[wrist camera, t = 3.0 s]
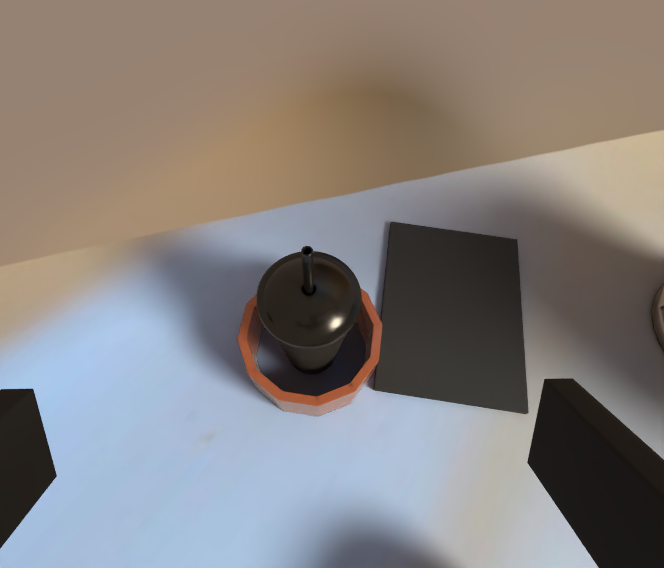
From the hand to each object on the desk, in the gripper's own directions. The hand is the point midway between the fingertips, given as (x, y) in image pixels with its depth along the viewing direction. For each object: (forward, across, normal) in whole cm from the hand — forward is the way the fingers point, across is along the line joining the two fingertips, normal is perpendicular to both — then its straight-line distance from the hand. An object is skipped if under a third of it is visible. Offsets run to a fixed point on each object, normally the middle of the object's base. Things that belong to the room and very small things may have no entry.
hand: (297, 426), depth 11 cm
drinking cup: (+28, 0, -13) cm, 31 cm away
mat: (+31, +15, -10) cm, 36 cm away
